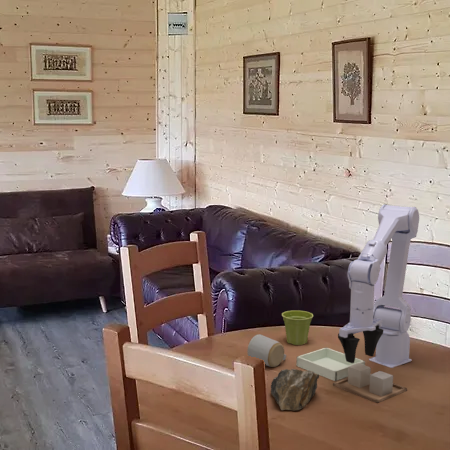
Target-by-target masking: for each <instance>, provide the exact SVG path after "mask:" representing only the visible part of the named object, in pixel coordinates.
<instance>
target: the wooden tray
mask: <svg viewBox="0 0 450 450" xmlns="http://www.w3.org/2000/svg"><path fill="white" fill-rule="evenodd" d="M332 386H333V387H334V388H335V387H336V388H338V389H341V390H343V391H345V392H348V393H350V394H353V395H356V396H357V397H361V398H362V399H366V400H367V401H371V402H373V403H375V404H378V403H381V402H384V401H385V400H388V399H391V398H394V397H395V396H397V395H400V394H402V393H404V392H405V393H406V392H407V391H408V387H405V386H403V385H400V384H398V383H394V382H393V390H392V393H390V394H388V395H385V396H383V397H382V396H379V395H376V394H374V393H371V392H369V389H370V384H369V385H367V386H364V387H361V388H359V387H356V386H354V385H351V384H348V377H346V378H343V379H340V380H337V381H334V382H333V383H332Z"/></svg>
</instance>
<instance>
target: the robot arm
mask: <svg viewBox="0 0 450 450" xmlns="http://www.w3.org/2000/svg"><path fill="white" fill-rule="evenodd" d="M377 221H378V227H377V230H376V232H375V234H374V237H373V239H370V240H367V242H366V243H365V245H364V246H363V249H362V250H361V252H360V254H359V255H358V258H357V259H355V260H352V261H351V262H350V263H349V265H348V268H347V280H348V283H349V284H348V288H349V289H350V308H349V309H350V311H349V312H350V313H349V322H348V323H347V324H345V325H344V326H343V327H340V328H339V331H338V334H337V338H338V340H339V342H340V344H341V346H342V349H343V352H344V354H345V358H346V361H347V362H350V363H354V361H355V358H356V352H357V347H358V345H359V342H360V340H361V339H360V338H358V337H356V336H355V335H354V334H359V333H362V335H363V339H364V340H363V341H364V353H365V354H364V355H365V356H369V357H370V358H368V361H369V362H370V361H371V362H373V363H376V364H378V365H382V366H384V367H388V368H391V369H393V368H395V367H399V366H401V365H404V364H408V363H410V362H411V361H412V358H410V346H411V337H410V334H409V332H408V330H409V328H410V325H411V321H412V320H411V319H412V318H411V312H412V311H411V309H412V308H411V306H410V305H409V303H408V302H407V301H406V300H405V299H404V298H403V293H404V286H405V279H406V271H407V266H408V265H407V264H408V258H409V250H410V246H411V240H412V239H414V238H416V237H417V235H418V231H419V223H420V212H419V210H418V208H417V207H416V206H412V207H411V206H405V205H404V206H400V205H392V204H382V205H381V206H380V208H379V209H378V215H377ZM390 241H391V245H390V253H389V258H388V259H389V260H388V267H387V274H386V279H385V280H386V281H385V286H384V287H385V288H384V293H383V294H384V295H382V296H381V297H379V298H377V299H375V285H376V283H377V282H378V280H379V276H380V271H381V265H382V262H383V260H384V259H385V257H386V256H387V254H388V248H387V245H388V244H389V242H390ZM374 299H375V300H374ZM374 354H375V356H374Z"/></svg>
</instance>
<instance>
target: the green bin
mask: <svg viewBox="0 0 450 450" xmlns="http://www.w3.org/2000/svg"><path fill="white" fill-rule="evenodd" d="M357 363H360V364H363V365H365V366H366V360H364V359H362V358H361V359H360V358H357V357H355V361H354V363H350V362H347V361H346V358H345V353H343V352H341V351H338V350H335V349H332V348H329V347H323V348H320V349H317V350H314V351H311V352H308V353H304V354H301V355H298V356H296V363H295V365H296V367H298V368H301V369H302V370H304V371H313V372H314V373H315V374H317V375H319V377H320V376H321V377H322V378H326V379H328V380H331V381H334V382H337V381H340V380H343V379H346V378H348V367H349V366H352V365H354V364H357Z"/></svg>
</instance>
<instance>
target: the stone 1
mask: <svg viewBox="0 0 450 450" xmlns="http://www.w3.org/2000/svg"><path fill="white" fill-rule="evenodd" d="M371 370H372V368H371V366H367V365H366V364H365V365H363V364H360V363H357V364H354V365H352V366H349V367H348V377H347V378H348V384H351V385H354V386H356V387H359V388H361V387H364V386H367V385H369V384H370V375H371V374H372V373H371V372H372V371H371Z"/></svg>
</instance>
